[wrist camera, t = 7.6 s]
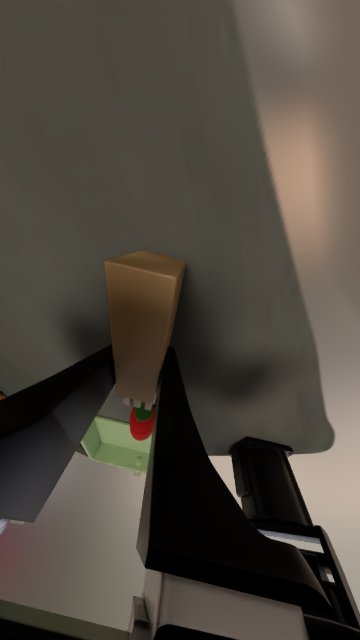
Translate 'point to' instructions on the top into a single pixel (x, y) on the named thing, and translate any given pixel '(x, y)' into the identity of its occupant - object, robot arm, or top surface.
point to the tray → (116, 445)
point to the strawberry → (142, 422)
